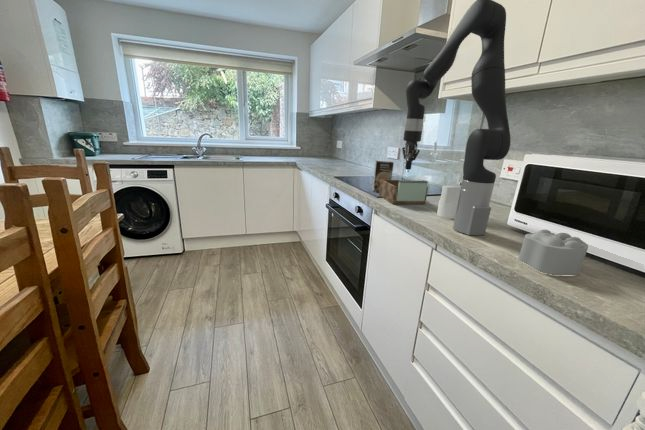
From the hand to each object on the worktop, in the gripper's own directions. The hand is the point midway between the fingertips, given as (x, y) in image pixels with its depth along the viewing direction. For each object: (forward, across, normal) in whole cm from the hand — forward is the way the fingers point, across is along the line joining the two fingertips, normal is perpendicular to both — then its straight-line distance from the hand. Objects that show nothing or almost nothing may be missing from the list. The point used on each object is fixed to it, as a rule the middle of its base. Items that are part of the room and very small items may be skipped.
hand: (407, 169), depth 127 cm
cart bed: (+15, +3, 0) cm, 15 cm away
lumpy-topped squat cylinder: (+15, -66, -10) cm, 68 cm away
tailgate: (+13, -7, 0) cm, 15 cm away
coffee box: (+16, +22, +3) cm, 27 cm away
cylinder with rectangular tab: (+15, -23, -9) cm, 29 cm away
